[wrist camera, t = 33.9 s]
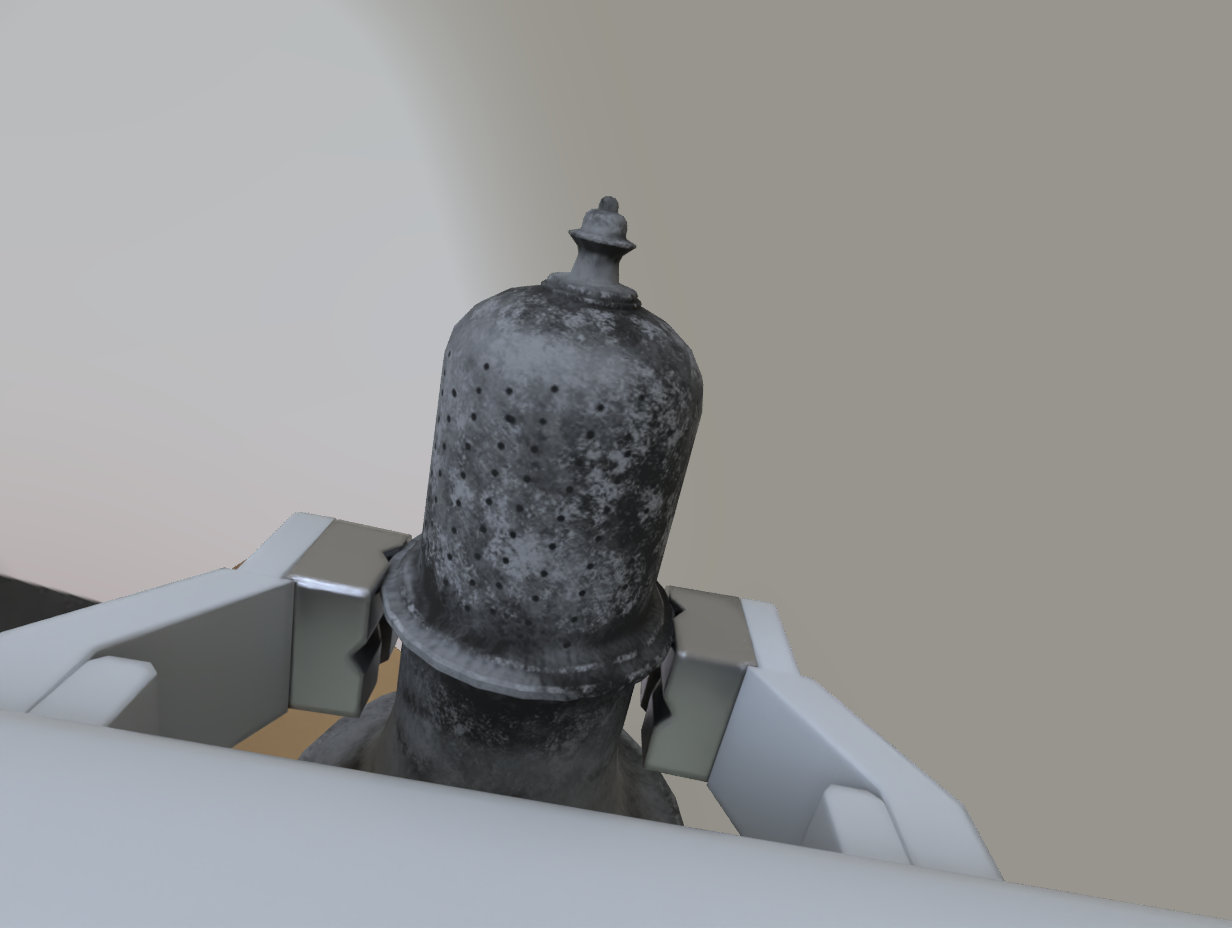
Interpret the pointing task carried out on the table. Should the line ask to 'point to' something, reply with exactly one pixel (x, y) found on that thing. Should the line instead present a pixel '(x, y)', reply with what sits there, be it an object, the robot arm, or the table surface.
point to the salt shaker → (540, 548)
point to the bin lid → (311, 719)
